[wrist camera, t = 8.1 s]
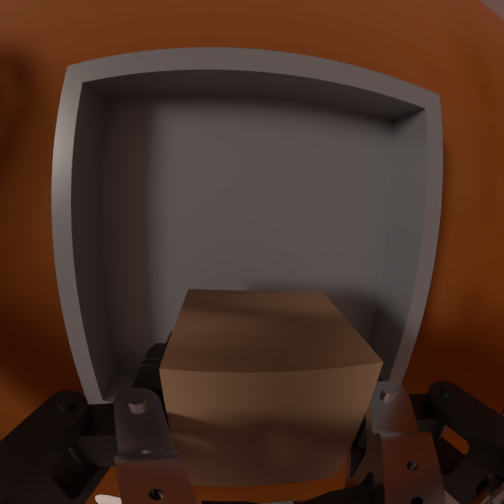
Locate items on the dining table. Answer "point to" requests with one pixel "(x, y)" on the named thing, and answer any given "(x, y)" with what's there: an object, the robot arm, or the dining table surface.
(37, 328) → the dining table surface
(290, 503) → the slate block
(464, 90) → the dining table surface
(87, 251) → the tray
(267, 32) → the dining table surface
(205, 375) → the walnut block
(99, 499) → the wineglass
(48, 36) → the dining table surface
